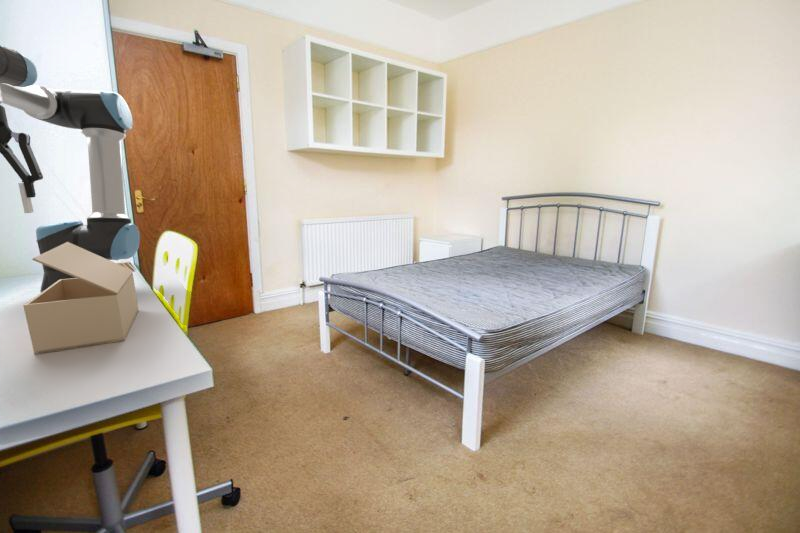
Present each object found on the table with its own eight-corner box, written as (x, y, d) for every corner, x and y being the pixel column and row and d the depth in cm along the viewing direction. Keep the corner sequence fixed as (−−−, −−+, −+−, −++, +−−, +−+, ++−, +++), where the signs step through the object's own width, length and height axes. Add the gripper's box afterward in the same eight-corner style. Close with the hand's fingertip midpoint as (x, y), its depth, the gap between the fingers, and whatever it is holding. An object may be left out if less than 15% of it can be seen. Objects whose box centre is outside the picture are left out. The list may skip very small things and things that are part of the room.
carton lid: (66, 243, 101) (67, 241, 101) (132, 272, 109) (133, 270, 109) (32, 259, 80) (33, 258, 80) (116, 294, 88) (117, 292, 88)
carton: (67, 319, 105) (59, 279, 102) (138, 310, 112) (132, 272, 109) (34, 354, 84) (23, 305, 81) (124, 340, 91) (116, 295, 88)
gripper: (-108, 94, 73) (-75, 217, 78) (37, 103, 82) (58, 212, 87) (-82, 101, 80) (-54, 214, 85) (49, 109, 89) (68, 210, 94)
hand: (3, 213), depth 86 cm, fingers open, 8 cm apart
